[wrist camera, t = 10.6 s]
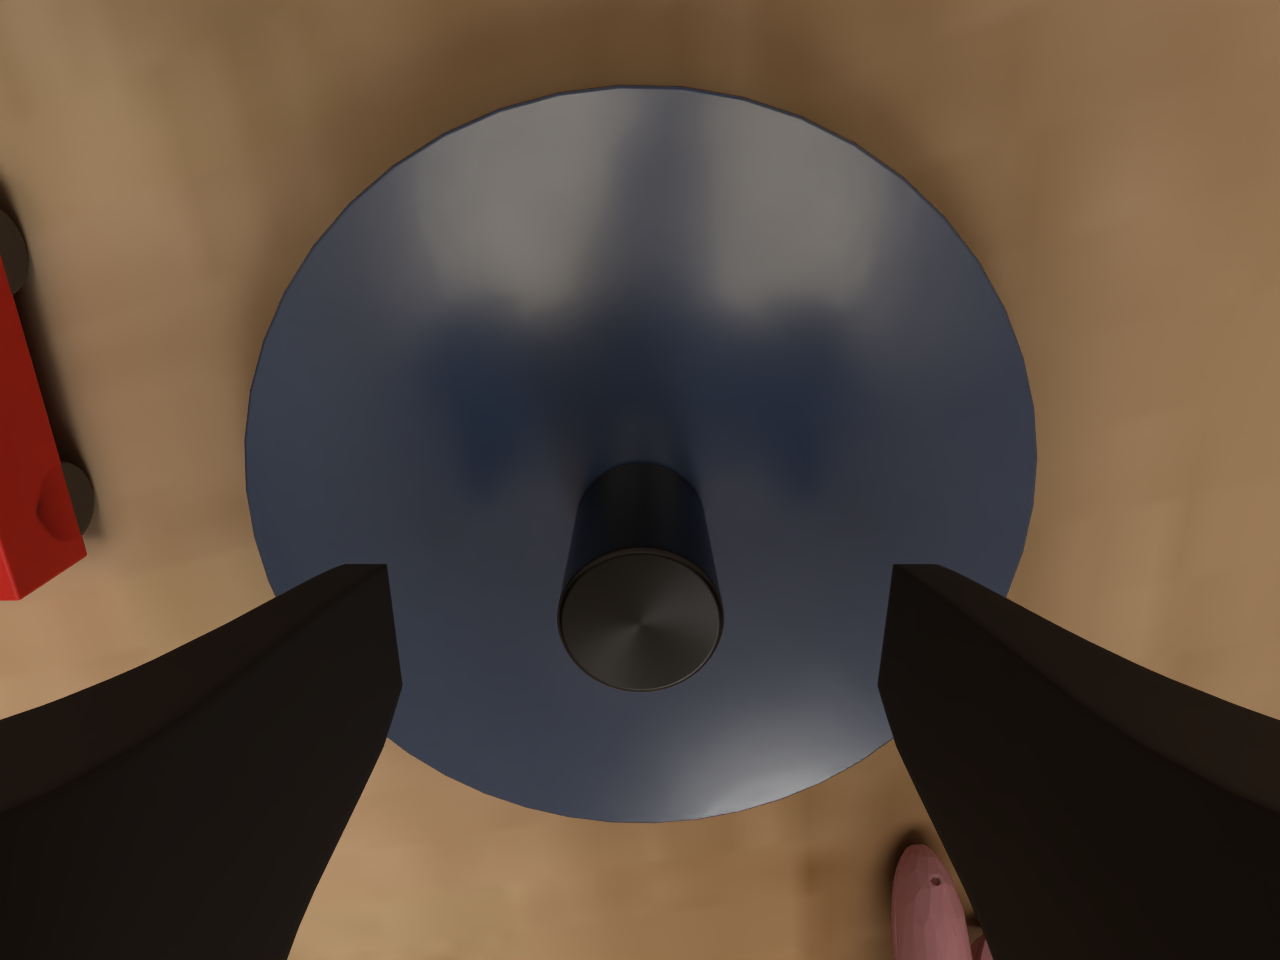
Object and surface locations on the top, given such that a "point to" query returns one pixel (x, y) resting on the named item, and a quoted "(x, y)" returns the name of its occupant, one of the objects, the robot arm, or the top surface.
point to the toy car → (31, 455)
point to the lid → (640, 442)
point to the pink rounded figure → (929, 912)
